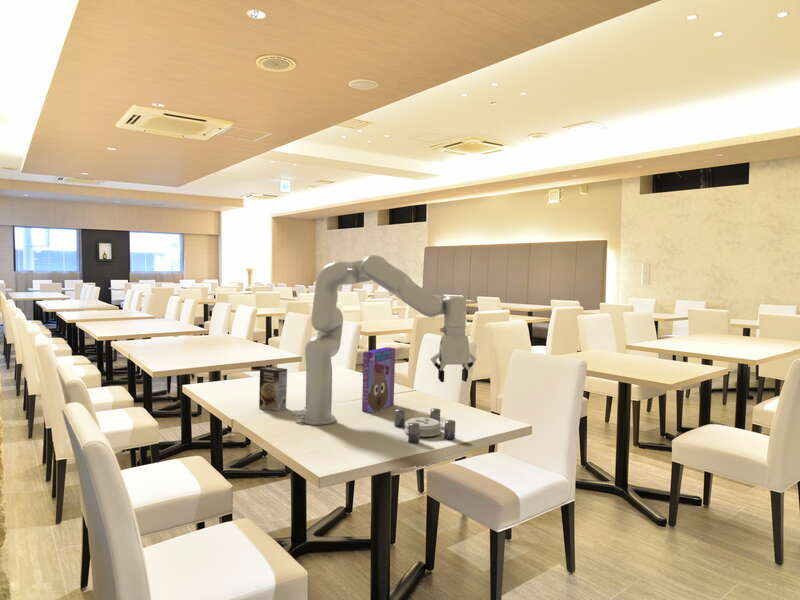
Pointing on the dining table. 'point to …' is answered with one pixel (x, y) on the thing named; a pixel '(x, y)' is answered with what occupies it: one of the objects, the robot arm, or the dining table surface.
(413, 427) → the post field
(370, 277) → the robot arm
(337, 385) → the dining table surface
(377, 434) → the dining table surface
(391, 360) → the cereal box
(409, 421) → the lid
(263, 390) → the coffee box
